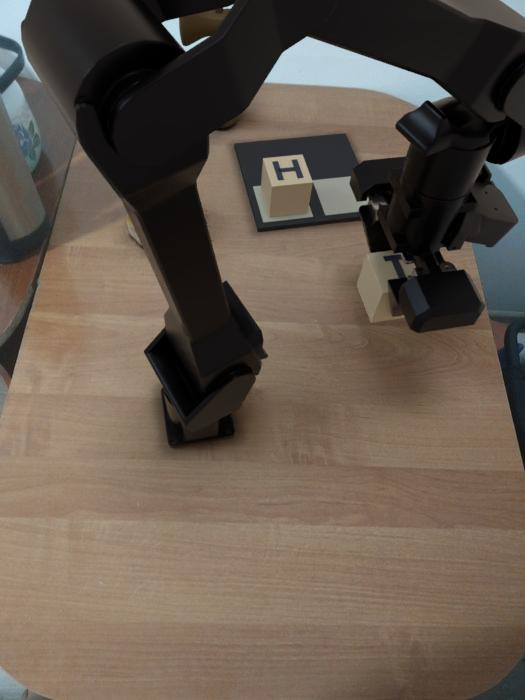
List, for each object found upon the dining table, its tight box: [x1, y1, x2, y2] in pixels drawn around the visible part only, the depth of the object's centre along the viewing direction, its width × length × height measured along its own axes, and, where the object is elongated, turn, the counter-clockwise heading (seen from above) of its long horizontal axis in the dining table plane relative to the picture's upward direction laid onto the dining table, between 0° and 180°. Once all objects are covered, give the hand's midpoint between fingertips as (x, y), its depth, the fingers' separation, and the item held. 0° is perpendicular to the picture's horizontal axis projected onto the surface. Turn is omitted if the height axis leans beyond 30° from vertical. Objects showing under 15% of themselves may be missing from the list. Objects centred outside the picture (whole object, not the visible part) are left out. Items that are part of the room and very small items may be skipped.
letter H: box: [261, 155, 313, 217], centre depth 69 cm, size 5×5×5 cm
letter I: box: [356, 250, 416, 324], centre depth 56 cm, size 5×5×5 cm
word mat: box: [234, 133, 369, 232], centre depth 74 cm, size 16×16×1 cm
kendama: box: [178, 7, 239, 129], centre depth 71 cm, size 6×10×20 cm, turn 90°
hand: (388, 294), depth 58 cm, fingers closed on letter I, 5 cm apart
